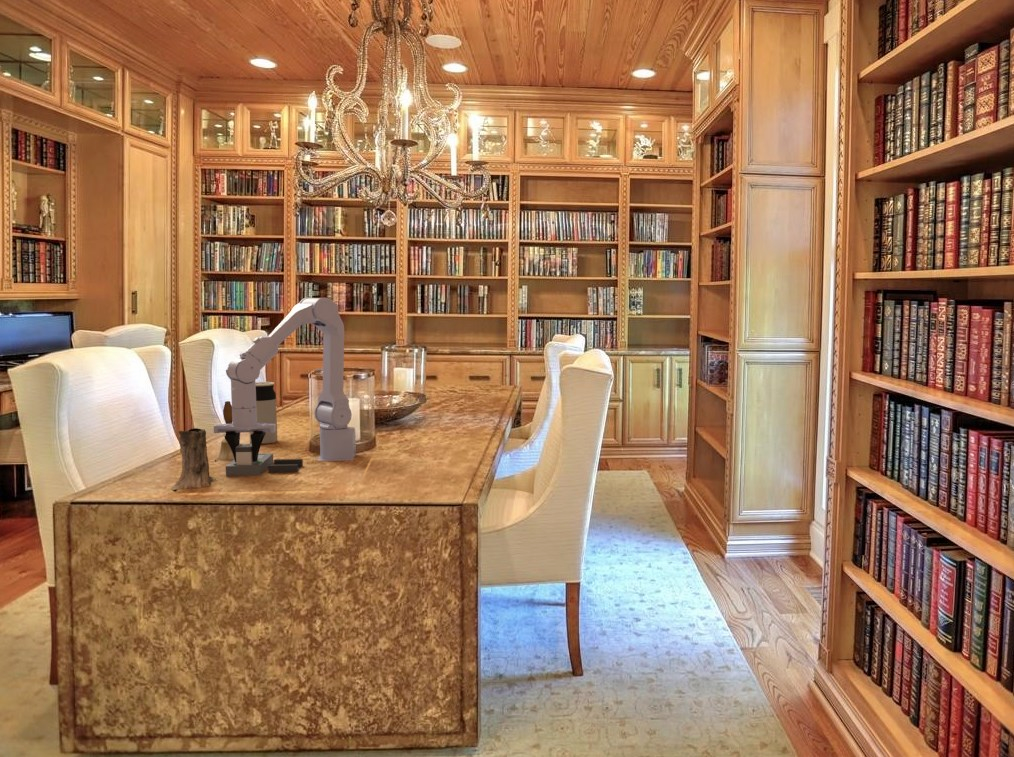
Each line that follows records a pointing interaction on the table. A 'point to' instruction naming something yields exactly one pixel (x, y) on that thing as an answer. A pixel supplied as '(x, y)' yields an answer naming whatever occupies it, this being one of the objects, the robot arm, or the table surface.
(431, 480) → the table surface
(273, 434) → the travel mug
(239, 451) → the plug
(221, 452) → the hand bell
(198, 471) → the tree stump
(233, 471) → the port panel
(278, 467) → the dark grey bracket
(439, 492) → the table surface
